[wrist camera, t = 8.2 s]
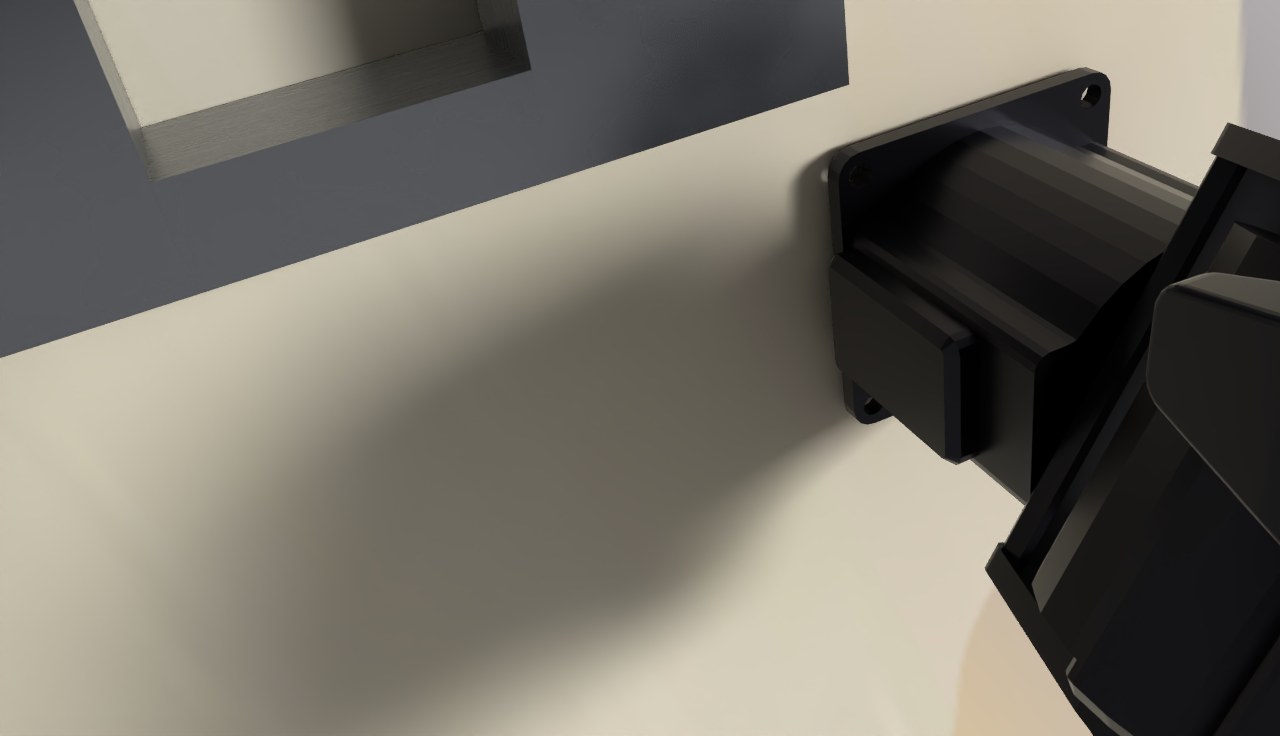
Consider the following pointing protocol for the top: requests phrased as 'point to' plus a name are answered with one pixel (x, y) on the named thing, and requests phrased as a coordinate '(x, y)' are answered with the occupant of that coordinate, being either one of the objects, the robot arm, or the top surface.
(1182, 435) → the robot arm
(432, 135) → the gray square hole plate
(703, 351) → the top surface
